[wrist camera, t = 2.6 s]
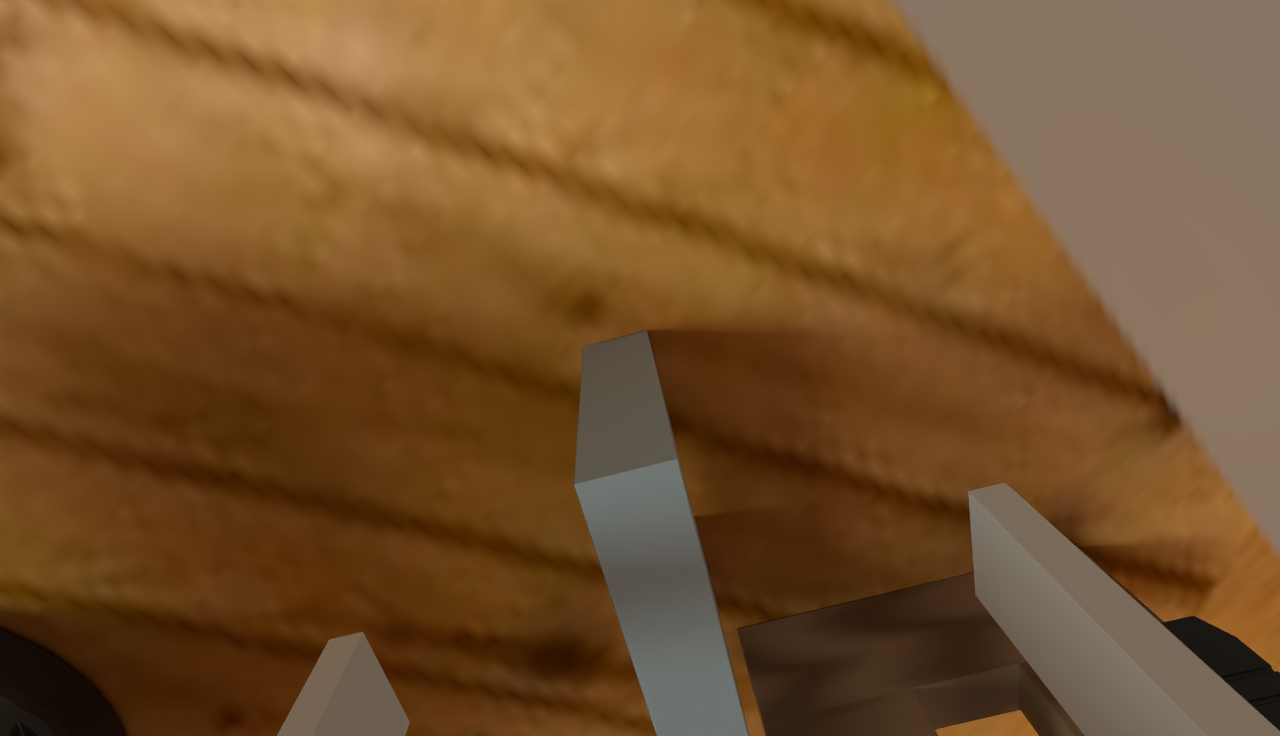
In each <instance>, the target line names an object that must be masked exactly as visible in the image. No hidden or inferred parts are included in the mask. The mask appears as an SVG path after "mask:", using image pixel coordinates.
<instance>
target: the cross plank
mask: <svg viewBox="0 0 1280 736" xmlns="http://www.w3.org/2000/svg"><path fill="white" fill-rule="evenodd" d="M574 486H575V489H576V492H577V495H578V498H579V501H580V504H581V507H582V510H583V513H584V516H585V519H586V522H587V525H588V529H589V532H590V535H591V538H592V541H593V544H594V547H595V550H596V553H597V556H598V559H599V562H600V565H601V568H602V571H603V574H604V577H605V580H606V583H607V586H608V589H609V592H610V595H611V598H612V601H613V604H614V607H615V610H616V613H617V616H618V619H619V623H620V626H621V629H622V632H623V635H624V638H625V641H626V644H627V647H628V650H629V653H630V656H631V659H632V662H633V665H634V668H635V671H636V674H637V677H638V680H639V683H640V686H641V689H642V692H643V695H644V698H645V701H646V704H647V707H648V710H649V714H650V717H651V720H652V723H653V726H654V729H655V732H656V735H657V736H749V733H748V729H747V725H746V721H745V717H744V713H743V709H742V705H741V701H740V697H739V693H738V689H737V684H736V680H735V676H734V672H733V668H732V664H731V660H730V656H729V652H728V648H727V644H726V640H725V636H724V632H723V628H722V624H721V620H720V615H719V611H718V607H717V603H716V599H715V595H714V591H713V587H712V583H711V580H710V576H709V572H708V568H707V564H706V560H705V556H704V552H703V548H702V544H701V540H700V536H699V532H698V529H697V525H696V521H695V517H693V513H692V509H691V505H690V501H689V497H688V492H687V488H686V484H685V480H684V476H683V472H682V468H681V464H680V459H679V455H678V451H677V447H676V443H675V439H674V435H673V430H672V427H671V423H670V419H669V415H668V411H667V407H666V403H665V399H664V395H663V391H662V387H661V383H660V380H659V376H658V372H657V368H656V364H655V360H654V356H653V352H652V348H651V344H650V340H649V336H648V332H647V331H644V332H640V333H636V334H632V335H628V336H624V337H621V338H617V339H613V340H609V341H605V342H601V343H597V344H593V345H589V346H585V347H583V360H582V375H581V389H580V404H579V418H578V433H577V448H576V462H575V477H574Z"/></svg>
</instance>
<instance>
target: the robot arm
mask: <svg viewBox="0 0 1280 736" xmlns="http://www.w3.org/2000/svg"><path fill="white" fill-rule="evenodd" d="M968 495H969V509H970V524H971V538H972V553H973V567H974V582H975V595H976V596H977V598H978V599H979V600H980V602H981V603H982V604H983V605H984V607H985V608H986V609H987V611H988V612H989V613H990V614H991V616H992V617H993V618H994V620H995V621H996V622H997V623H998V625H999V626H1000V627H1001V629H1002V630H1003V631H1004V632H1005V634H1006V635H1007V636H1008V638H1009V639H1010V640H1011V641H1012V643H1013V644H1014V645H1015V647H1016V648H1017V649H1018V651H1019V652H1020V653H1021V654H1022V656H1023V657H1024V658H1025V660H1026V661H1027V662H1028V663H1029V665H1030V666H1031V667H1032V669H1033V670H1034V671H1035V672H1036V674H1037V675H1038V676H1039V678H1040V679H1041V680H1042V681H1043V683H1044V684H1045V685H1046V687H1047V688H1048V689H1049V690H1050V692H1051V693H1052V694H1053V696H1054V697H1055V698H1056V699H1057V701H1058V702H1059V703H1060V705H1061V706H1062V707H1063V708H1064V710H1065V711H1066V712H1067V714H1068V715H1069V716H1070V717H1071V719H1072V720H1073V721H1074V723H1075V724H1076V725H1077V727H1078V728H1079V729H1080V730H1081V732H1082V733H1083V734H1084V736H1280V673H1279V672H1278V671H1277V672H1275V671H1273V670H1272V668H1271V665H1269V664H1268V663H1267V662H1266V661H1265V660H1263V659H1262V658H1261V657H1260V656H1258V655H1257V654H1256V653H1255V652H1254V651H1252V650H1251V649H1250V648H1249V647H1248V646H1246V645H1245V644H1244V643H1243V642H1241V641H1240V640H1239V639H1238V638H1237V637H1235V636H1233V635H1231V634H1229V633H1227V632H1225V631H1223V630H1221V629H1219V628H1217V627H1215V626H1213V625H1211V624H1209V623H1207V622H1205V621H1203V620H1201V619H1199V618H1197V617H1195V616H1191V617H1186V618H1182V619H1177V620H1173V621H1168V622H1164V623H1160V622H1159V621H1158V620H1157V619H1155V618H1154V617H1153V616H1152V615H1151V614H1150V613H1149V612H1148V611H1147V610H1146V609H1144V608H1143V607H1142V606H1141V605H1140V604H1139V603H1138V602H1137V601H1136V600H1134V599H1133V598H1132V597H1131V596H1130V595H1129V594H1128V593H1127V592H1126V591H1125V590H1123V589H1122V588H1121V587H1120V586H1119V585H1118V584H1117V583H1116V582H1115V581H1114V580H1112V579H1111V578H1110V577H1109V576H1108V575H1107V574H1106V573H1105V572H1104V571H1102V570H1101V569H1100V568H1099V567H1098V566H1097V565H1096V564H1095V563H1094V562H1093V561H1091V560H1090V559H1089V558H1088V557H1087V556H1086V555H1085V554H1084V553H1083V552H1082V551H1080V550H1079V549H1078V548H1077V547H1076V546H1075V545H1074V544H1073V543H1072V542H1070V541H1069V540H1068V539H1067V538H1066V537H1065V536H1064V535H1063V534H1062V533H1061V532H1059V531H1058V530H1057V529H1056V528H1055V527H1054V526H1053V525H1052V524H1051V523H1050V522H1048V521H1047V520H1046V519H1045V518H1044V517H1043V516H1042V515H1041V514H1040V513H1038V512H1037V511H1036V510H1035V509H1034V508H1033V507H1032V506H1031V505H1030V504H1029V503H1027V502H1026V501H1025V500H1024V499H1023V498H1022V497H1021V496H1020V495H1019V494H1018V493H1016V492H1015V491H1014V490H1013V489H1012V488H1011V487H1010V486H1009V485H1008V484H1006V483H1000V484H996V485H992V486H987V487H983V488H979V489H974V490H970V491H968ZM409 723H410V721H409V719H408V718H407V716H406V714H405V712H404V710H403V708H402V706H401V704H400V702H399V700H398V698H397V696H396V694H395V693H394V691H393V689H392V687H391V685H390V683H389V681H388V679H387V677H386V675H385V673H384V671H383V669H382V667H381V666H380V664H379V662H378V660H377V658H376V656H375V654H374V652H373V650H372V648H371V646H370V644H369V642H368V641H367V639H366V637H365V635H364V633H363V632H359V633H355V634H351V635H346V636H342V637H338V638H333V639H329V641H328V643H327V644H326V646H325V648H324V650H323V652H322V654H321V655H320V657H319V659H318V661H317V663H316V665H315V666H314V668H313V670H312V672H311V674H310V676H309V678H308V679H307V681H306V683H305V685H304V687H303V689H302V690H301V692H300V694H299V696H298V698H297V700H296V701H295V703H294V705H293V707H292V709H291V711H290V712H289V714H288V716H287V718H286V720H285V722H284V724H283V725H282V727H281V729H280V731H279V733H278V735H277V736H405V735H406V732H407V729H408V726H409ZM0 736H125V735H124V733H123V731H122V728H121V726H120V724H119V722H118V720H117V719H116V717H115V715H114V714H113V712H112V711H111V709H110V708H109V706H108V705H107V704H106V702H105V701H104V700H103V699H102V698H101V696H100V695H99V694H98V693H97V692H96V691H95V690H94V689H93V688H92V687H91V686H90V685H89V684H88V683H87V682H86V681H85V680H84V679H83V678H82V677H80V676H79V675H78V674H77V673H76V672H74V671H73V670H72V669H71V668H69V667H68V666H67V665H65V664H64V663H62V662H61V661H59V660H58V659H57V658H55V657H53V656H52V655H50V654H49V653H47V652H45V651H44V650H42V649H40V648H38V647H36V646H35V645H33V644H31V643H29V642H27V641H25V640H23V639H20V638H18V637H16V636H14V635H11V634H9V633H7V632H4V631H2V630H0Z"/></svg>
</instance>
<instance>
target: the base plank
mask: <svg viewBox="0 0 1280 736" xmlns="http://www.w3.org/2000/svg"><path fill="white" fill-rule="evenodd" d="M1078 549H1079V550H1080V551H1082V552H1083V553H1084V554H1085V555H1086V556H1087V557H1088V558H1089V559H1090V560H1091V561H1093V562H1094V563H1095V564H1096V565H1097V566H1098V567H1099V568H1100V569H1101V570H1102V571H1104V572H1105V573H1106V574H1107V575H1108V576H1109V577H1110V578H1111V579H1112V580H1114V581H1115V582H1116V583H1117V584H1118V585H1119V586H1120V587H1121V588H1122V589H1123V590H1125V591H1126V592H1127V593H1128V594H1129V595H1130V596H1131V597H1132V598H1133V599H1134V600H1136V601H1137V602H1138V603H1139V604H1140V605H1141V606H1142V607H1143V608H1144V609H1146V610H1147V611H1148V612H1149V613H1150V614H1151V615H1152V616H1153V617H1154V618H1155V619H1157V620H1158V621H1159V622H1160V623H1164V622H1163V621H1162V620H1161V619H1160V618H1159V617H1158V616H1157V615H1156V614H1154V613H1153V612H1152V611H1151V610H1150V609H1149V608H1148V607H1146V606H1145V605H1144V604H1143V603H1142V602H1141V601H1140V600H1138V599H1137V598H1136V597H1135V596H1134V595H1133V594H1132V593H1130V592H1129V591H1128V590H1127V589H1126V588H1125V587H1124V586H1123V585H1121V584H1120V583H1119V582H1118V581H1117V580H1116V579H1115V578H1113V577H1112V576H1111V575H1110V574H1109V573H1108V572H1107V571H1105V570H1104V569H1103V568H1102V567H1101V566H1100V565H1099V564H1097V563H1096V562H1095V561H1094V560H1093V559H1092V558H1091V557H1090V556H1088V555H1087V554H1086V553H1085V552H1084V551H1083V550H1082V549H1080V548H1078ZM738 633H739V637H740V641H741V645H742V649H743V653H744V657H745V661H746V665H747V669H748V673H749V677H750V680H751V684H752V688H753V691H754V695H755V699H756V702H757V706H758V710H759V713H760V717H761V721H762V724H763V728H764V732H765V735H766V736H938V735H937V733H936V731H935V729H938V728H943V727H947V726H951V725H956V724H960V723H964V722H969V721H973V720H977V719H982V718H986V717H990V716H995V715H999V714H1003V713H1007V712H1012V711H1016V710H1021V711H1022V712H1023V714H1024V715H1025V717H1026V718H1027V719H1028V721H1029V722H1030V723H1031V725H1032V726H1033V728H1034V729H1035V730H1036V732H1037V733H1038V735H1039V736H1084V734H1083V733H1082V732H1081V730H1080V729H1079V728H1078V727H1077V725H1076V724H1075V723H1074V721H1073V720H1072V719H1071V717H1070V716H1069V715H1068V714H1067V712H1066V711H1065V710H1064V708H1063V707H1062V706H1061V705H1060V703H1059V702H1058V701H1057V699H1056V698H1055V697H1054V696H1053V694H1052V693H1051V692H1050V690H1049V689H1048V688H1047V687H1046V685H1045V684H1044V683H1043V681H1042V680H1041V679H1040V678H1039V676H1038V675H1037V674H1036V672H1035V671H1034V670H1033V669H1032V667H1031V666H1030V665H1029V663H1028V662H1027V661H1026V660H1025V658H1024V657H1023V656H1022V654H1021V653H1020V652H1019V651H1018V649H1017V648H1016V647H1015V645H1014V644H1013V643H1012V641H1011V640H1010V639H1009V638H1008V636H1007V635H1006V634H1005V632H1004V631H1003V630H1002V629H1001V627H1000V626H999V625H998V623H997V622H996V621H995V620H994V618H993V617H992V616H991V614H990V613H989V612H988V611H987V609H986V608H985V607H984V605H983V604H982V603H981V602H980V600H979V599H978V598H977V596H976V595H975V582H974V573H971V574H966V575H962V576H958V577H954V578H950V579H945V580H941V581H937V582H933V583H929V584H925V585H920V586H916V587H912V588H908V589H904V590H899V591H895V592H891V593H887V594H883V595H879V596H874V597H870V598H866V599H862V600H858V601H853V602H849V603H845V604H841V605H837V606H833V607H828V608H824V609H820V610H816V611H812V612H807V613H803V614H799V615H795V616H791V617H787V618H782V619H778V620H774V621H770V622H766V623H761V624H757V625H753V626H749V627H745V628H740V629H738Z"/></svg>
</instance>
